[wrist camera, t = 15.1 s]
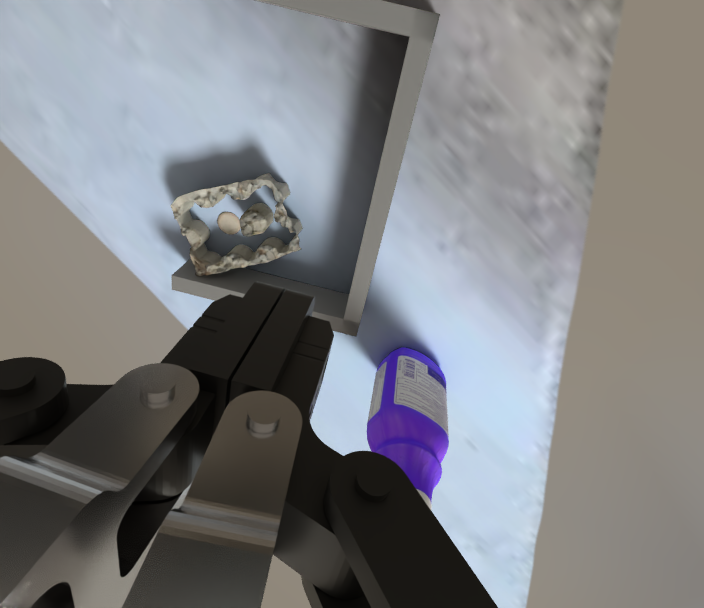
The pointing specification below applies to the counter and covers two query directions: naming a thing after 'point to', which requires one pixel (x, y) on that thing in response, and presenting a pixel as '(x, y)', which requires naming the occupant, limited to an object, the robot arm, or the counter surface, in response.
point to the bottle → (410, 417)
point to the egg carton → (236, 225)
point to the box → (346, 309)
